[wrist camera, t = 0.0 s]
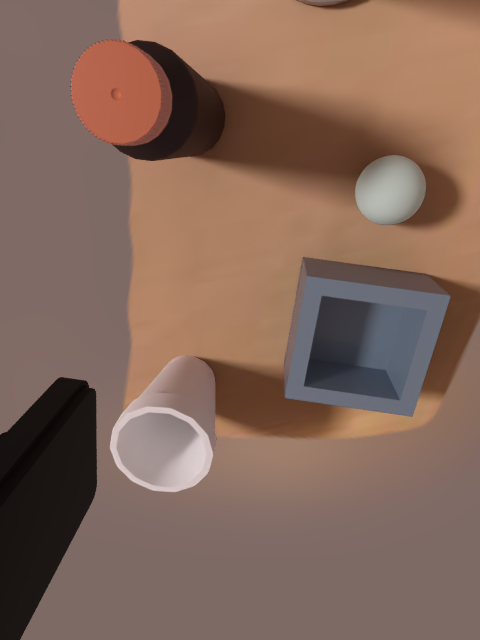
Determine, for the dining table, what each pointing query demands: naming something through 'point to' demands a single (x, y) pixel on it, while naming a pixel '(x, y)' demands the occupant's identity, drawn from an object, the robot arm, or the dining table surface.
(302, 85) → the dining table surface
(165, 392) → the foam cup
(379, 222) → the ball
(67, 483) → the robot arm
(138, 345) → the dining table surface
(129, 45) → the bottle
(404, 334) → the blue-grey open box
